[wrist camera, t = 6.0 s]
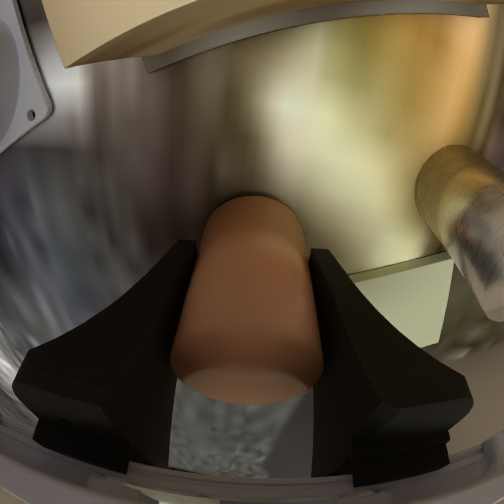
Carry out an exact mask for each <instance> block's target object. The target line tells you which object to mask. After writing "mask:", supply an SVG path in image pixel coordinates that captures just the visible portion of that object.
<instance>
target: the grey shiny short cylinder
mask: <svg viewBox="0 0 504 504" xmlns="http://www.w3.org/2000/svg"><path fill="white" fill-rule="evenodd" d="M415 202H416V206H417V209H418V211H419V213H420V214H421V216H422V217H423V218H424V220H425V221H426V222H427V224H428V225H429V226H430V228H431V229H432V231H433V232H434V233H435V235H436V236H437V237H438V239H439V240H440V242H441V243H442V245H443V246H444V248H445V249H446V250H447V252H448V253H449V255H450V256H451V258H452V259H453V261H454V262H455V264H456V265H457V267H458V269H459V270H460V272H461V273H462V275H463V276H464V278H465V280H466V281H467V283H468V284H469V286H470V288H471V289H472V291H473V293H474V294H475V296H476V298H477V300H478V301H479V303H480V305H481V306H482V308H483V310H484V312H485V314H486V315H487V317H488V318H489V319H491V320H493V321H498V322H502V321H504V172H503V171H502V170H500V169H499V168H498V167H496V166H495V165H494V164H492V163H491V162H489V161H488V160H487V159H485V158H484V157H482V156H481V155H479V154H478V153H476V152H475V151H474V150H472V149H471V148H468V147H466V146H463V145H450V146H446V147H444V148H442V149H440V150H438V151H437V152H435V153H434V154H433V155H432V156H431V157H430V158H429V159H428V160H427V161H426V162H425V164H424V165H423V167H422V168H421V170H420V172H419V175H418V177H417V180H416V184H415Z"/></svg>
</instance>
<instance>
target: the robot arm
mask: <svg viewBox="0 0 504 504" xmlns="http://www.w3.org/2000/svg"><path fill="white" fill-rule="evenodd" d="M33 110H34V112H35V115H36V116H35V118H34V117H33V114H32V111H33ZM51 111H52V105H51V101H50V99H49V96H48V94H47V91H46V89H45V86H44V83H43V81H42V78H41V76H40V73H39V70H38V67H37V65H36V62H35V59H34V56H33V53H32V50H31V47H30V44H29V41H28V38H27V35H26V32H25V28H24V25H23V22H22V18H21V14H20V11H19V7H18V3H17V0H0V154H1V153H2V152H3V151H4V150H6V149H7V148H8V147H9V146H10V145H12V144H13V143H14V142H15V141H17V140H18V139H19V138H20V137H22V136H23V135H24V134H26V133H27V132H28V131H30V130H31V129H32V128H34V127H35V126H36V125H38V124H39V123H40V122H42V121H43V120H45V119H46V118H47V117H48V116H49V115H50V114H51ZM196 257H197V248H196V241H192V240H179V241H177V242H176V243H175V244H174V245H173V247H172V248H171V249H170V250H169V251H168V252H167V253H166V254H165V255H164V256H163V257H162V258H161V259H160V260H159V261H158V262H157V263H156V264H155V265H154V266H153V267H152V268H151V269H150V271H149V272H148V273H147V274H146V275H145V276H143V277H142V278H141V279H140V280H139V281H138V282H137V283H136V284H135V285H134V286H133V287H132V288H130V289H129V290H128V291H127V292H126V293H125V294H124V295H122V296H121V297H120V298H119V299H117V300H116V301H115V302H113V303H112V304H111V305H110V306H108V307H107V308H105V309H104V310H102V311H101V312H99V313H98V314H96V315H95V316H93V317H92V318H90V319H89V320H87V321H86V322H84V323H83V324H81V325H79V326H78V327H76V328H74V329H72V330H71V331H69V332H67V333H65V334H63V335H61V336H59V337H57V338H55V339H53V340H51V341H49V342H46V343H44V344H42V345H40V346H37V347H35V348H33V349H30V350H29V351H28V352H27V354H26V356H25V358H24V360H23V362H22V364H21V366H20V368H19V370H18V373H17V375H16V377H15V379H14V381H13V383H12V389H13V391H14V393H15V395H16V396H17V397H18V399H19V400H20V401H21V402H22V403H23V404H24V405H25V406H26V407H27V408H28V409H29V410H30V411H31V412H32V413H33V414H34V415H35V416H37V417H38V418H39V420H38V423H37V426H36V429H35V430H33V429H31V428H28V427H26V426H24V425H22V424H20V423H17V422H15V421H13V420H11V419H9V418H7V417H5V416H3V415H2V414H1V413H0V487H1V488H2V489H4V490H5V491H7V492H8V493H10V494H12V495H13V496H15V497H16V498H18V499H20V500H21V501H23V502H25V503H27V504H159V501H158V500H156V499H153V498H151V497H148V496H146V495H144V494H142V492H141V491H140V490H138V489H134V488H131V487H128V486H125V485H122V484H119V483H116V482H113V481H110V480H107V479H106V478H108V479H111V480H115V481H118V482H122V483H125V484H129V485H133V486H138V487H142V488H147V489H151V490H156V491H161V492H167V493H172V494H178V495H185V496H191V497H199V498H208V499H217V500H229V501H246V502H298V501H299V502H300V501H317V500H328V499H338V498H346V497H353V496H361V495H366V496H362V497H357V498H352V499H347V500H342V501H339V502H338V503H337V504H496V503H497V502H499V501H501V500H502V499H504V430H503V431H500V432H498V433H496V434H494V435H492V436H491V437H489V438H488V439H486V440H485V441H484V442H483V443H482V444H480V445H477V446H474V447H472V448H468V449H466V450H463V451H459V452H456V453H452V454H449V455H448V451H447V447H446V443H447V442H449V440H450V436H449V432H448V430H449V429H450V428H452V427H453V426H454V425H455V424H457V423H458V422H459V421H460V420H461V419H463V418H464V417H465V416H466V415H467V414H468V413H469V411H470V410H471V408H472V407H473V398H472V395H471V392H470V390H469V387H468V384H467V381H466V379H465V377H464V376H463V375H461V374H460V373H458V372H456V371H455V370H453V369H451V368H450V367H448V366H446V365H444V364H443V363H441V362H440V361H438V360H437V359H435V358H434V357H432V356H431V355H429V354H428V353H426V352H425V351H424V350H422V349H421V348H420V347H418V346H417V345H416V344H414V343H413V342H412V341H411V340H409V339H408V338H407V337H406V336H405V335H403V334H402V333H401V332H400V331H399V330H398V329H396V328H395V327H394V326H393V325H392V324H391V323H390V322H389V321H388V320H387V319H386V318H385V317H384V316H383V315H382V314H381V313H380V312H379V311H378V310H377V309H376V308H375V307H374V306H373V305H372V304H371V303H370V301H369V300H368V299H367V298H366V297H365V296H364V295H363V294H362V292H361V291H360V290H359V289H358V288H357V286H356V285H355V284H354V283H353V281H352V280H351V279H350V277H349V276H348V275H347V274H346V272H345V271H344V270H343V268H342V267H341V266H340V264H339V263H338V262H337V260H336V259H335V258H334V256H333V255H332V254H331V252H330V251H329V250H328V249H316V248H311V253H310V258H309V268H310V274H311V280H312V286H313V292H314V299H315V305H316V312H317V319H318V325H319V333H320V340H321V347H322V355H323V363H324V368H323V372H322V375H321V377H320V378H319V380H318V381H317V382H316V383H315V385H314V386H313V395H314V432H313V458H312V472H311V478H287V479H268V478H240V477H226V476H215V475H205V474H197V473H189V472H182V471H176V470H170V469H167V468H168V460H169V444H170V432H171V421H172V412H173V404H174V396H175V389H176V382H177V376H176V375H175V373H174V371H173V369H172V367H171V362H170V356H171V351H172V347H173V343H174V339H175V335H176V331H177V327H178V323H179V319H180V316H181V312H182V308H183V304H184V300H185V297H186V293H187V289H188V285H189V282H190V278H191V275H192V271H193V267H194V264H195V260H196ZM373 493H374V494H373ZM367 494H370V495H367Z"/></svg>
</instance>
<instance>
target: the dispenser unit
mask: <svg viewBox="0 0 504 504" xmlns="http://www.w3.org/2000/svg"><path fill="white" fill-rule="evenodd" d="M42 3H43V6H44V9H45V13H46V16H47V19H48V22H49V25H50V28H51V31H52V34H53V37H54V40H55V43H56V46H57V49H58V51H59V54H60V57H61V60H62V62H63V65H64V68H69V67H74V66H79V65H84V64H89V63H95V62H101V61H108V60H115V59H123V58H131V57H142V59H143V62H144V65H145V67H146V70H147V72H148V73H152V72H155V71H157V70H159V69H162V68H164V67H167V66H169V65H171V64H174V63H176V62H179V61H181V60H184V59H186V58H189V57H192V56H194V55H197V54H200V53H203V52H205V51H208V50H211V49H214V48H217V47H220V46H223V45H226V44H230V43H233V42H236V41H240V40H243V39H247V38H250V37H254V36H257V35H261V34H265V33H269V32H273V31H278V30H282V29H286V28H291V27H296V26H301V25H306V24H312V23H317V22H323V21H330V20H337V19H345V18H353V17H363V16H374V15H390V14H447V15H462V16H473V17H488V18H489V13H488V9H487V5H486V4H504V0H42Z"/></svg>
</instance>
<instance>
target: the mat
mask: <svg viewBox="0 0 504 504" xmlns="http://www.w3.org/2000/svg"><path fill="white" fill-rule="evenodd" d="M453 264H454V261H453V259H452V258H451V256H450V255H449V253H448V252H447V251H446V252H442V253H439V254H435V255H431V256H427V257H423V258H419V259H415V260H411V261H407V262H403V263H399V264H395V265H391V266H387V267H383V268H379V269H374V270H370V271H366V272H361V273H357V274H353V275H348V276H349V277H350V279H351V280H352V281H353V283H354V284H355V285H356V286H357V288H358V289H359V290H360V291H361V292H362V294H363V295H364V296H365V297H366V298H367V299H368V300H369V301H370V303H371V304H372V305H373V306H374V307H375V308H376V309H377V310H378V311H379V312H380V313H381V314H382V315H383V316H384V317H385V318H386V319H387V320H388V321H389V322H390V323H391V324H392V325H393V326H394V327H395V328H396V329H398V330H399V331H400V332H401V333H402V334H403V335H405V336H406V337H407V338H408V339H409V340H411V341H412V342H413V343H414V344H416V345H417V346H418V347H420V348H421V347H424V346H428V345H431V344H434V343H437V342H438V341H439V337H440V333H441V328H442V324H443V320H444V315H445V310H446V305H447V300H448V295H449V289H450V283H451V277H452V271H453Z"/></svg>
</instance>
